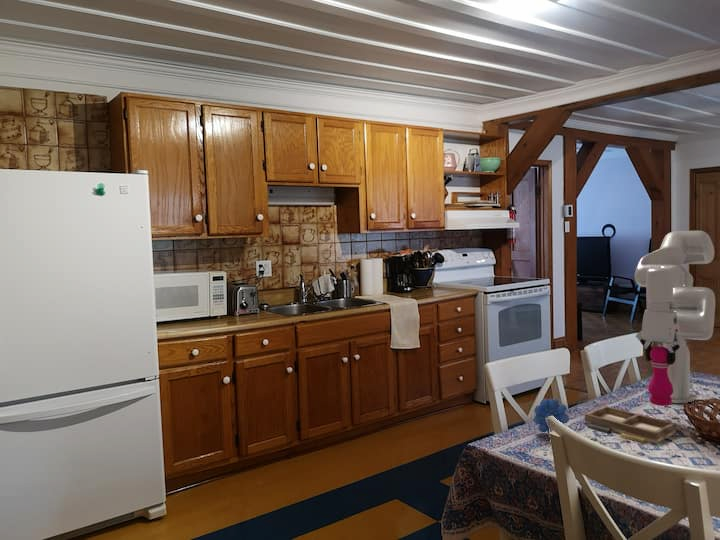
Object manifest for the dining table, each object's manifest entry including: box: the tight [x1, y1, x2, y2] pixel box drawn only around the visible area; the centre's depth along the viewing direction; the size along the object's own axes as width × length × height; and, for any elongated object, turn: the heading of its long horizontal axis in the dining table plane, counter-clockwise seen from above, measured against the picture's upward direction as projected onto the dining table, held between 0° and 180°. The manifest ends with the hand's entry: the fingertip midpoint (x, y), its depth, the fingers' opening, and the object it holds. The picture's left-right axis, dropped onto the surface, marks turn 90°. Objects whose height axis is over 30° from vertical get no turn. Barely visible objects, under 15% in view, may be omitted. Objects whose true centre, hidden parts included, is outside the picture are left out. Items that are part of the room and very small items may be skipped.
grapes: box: [533, 397, 570, 434], centre depth 176 cm, size 12×7×12 cm, turn 43°
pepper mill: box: [647, 342, 673, 407], centre depth 182 cm, size 7×7×20 cm
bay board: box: [584, 405, 677, 444], centre depth 178 cm, size 14×23×3 cm, turn 36°
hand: (660, 361), depth 182 cm, fingers closed on pepper mill, 6 cm apart
